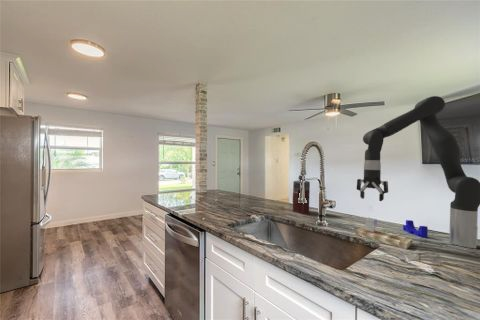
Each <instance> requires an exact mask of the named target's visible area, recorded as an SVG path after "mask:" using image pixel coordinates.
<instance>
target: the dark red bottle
mask: <svg viewBox="0 0 480 320" xmlns="http://www.w3.org/2000/svg"><path fill="white" fill-rule="evenodd" d="M301 175H302V174H299V176H298V180H294V181H292V182H293V183H292V185H293V188H292V213H297V214H301V215H302V214H308V213H310V186H311V185H310V184H311V182H310V181H309V180H304V181H305V198H306V200H307V203H304V204H303V203H298V198H299V193H300V183H301V180H302V176H301ZM304 178H305V179H306V176H305V175H304Z"/></svg>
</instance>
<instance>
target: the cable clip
mask: <svg viewBox="0 0 480 320" xmlns="http://www.w3.org/2000/svg"><path fill="white" fill-rule="evenodd" d="M402 230H403V231H405V232H406V233H408V234H413V235H414V236H416V237H417V236H418V237H419V238H422V239H423V238H425V239H428V230H429V228H428V226H427V225H419V228H418V229H416V227H415V223H414V220H410V219H406V220H405V224H403V225H402Z"/></svg>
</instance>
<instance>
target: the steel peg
mask: <svg viewBox="0 0 480 320" xmlns="http://www.w3.org/2000/svg"><path fill="white" fill-rule="evenodd" d="M377 221H378V220H377V218H373V217H372V218H371V217H367V218H365V222H364V227H365V231H367V232H371V233H376V230H377Z"/></svg>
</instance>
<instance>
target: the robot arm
mask: <svg viewBox="0 0 480 320" xmlns="http://www.w3.org/2000/svg"><path fill="white" fill-rule="evenodd" d="M445 107H446V101H445V100H444V99H443V98H442V97H441V96H438V95H434V96H433V95H432V96H429V97H426V98H424V99H422V100H421V101H418V102H417V103H416V104H415V105H414V108H413V109H411V110H409V111H407V112H405V113H403V114H401V115H398V116H397V117H395V118H392V119H391V120H389V121H387V122H385V123H384V124H382V125H380V126H378V127H376V128H374V129H372V130H370V131H368V132H366V133H365V134H363V137H362V141H363V143H364V144H366V145H367V149H366V150H365V151H364V162H363V179H361V178H358V179H357V180H356V190H357V191H358V192H359V195H360V198H361V200H363V199H365V190H366V189H375V190H376V191H378V193H379V197H378V199H379V202H383V201H384V200H385V194H387V193H389V182H388V180H381V176H382V175H381V174H382V173H381V172H382V171H381V170H382V165H381V151H382V148H383V145H384V139H385V138H388V137H391V136H393V135H395V134H397V133H399V132H401V131H403V130H404V129H406V128H408V127H409V126H412V125H413V124H414V123H417V122H418V121H419V122H420V124H421V125H422V127H423V130H424V131H425V133H426V135H427V138H428V139H429V142H430V144H431V147H432V149H433V151H434V154H435V155H436V158H437V160H438V162H439V164H440V166H441V169H442V171H443V174H444V177H445V180H446V184H447V186H448V189H449V190H450V191H451V192H452V193H454V194H455V195H454V199H453V200H452V201H451V202H450V204H449V205H450V206H449V236H448V240H449V243H451V244H453V245H456V246H460V247H464V248H469V249H470V248H471V249H475V250H476V249H477V247H478V228H479V226H478V217H479V216H478V215H479V213H478V212H479V211H478V210H479V207H480V181H479V180H478V179H477V178H475V177H472V176H467V175H466V173H465V171H464V169H463V167H462V164H461V148H460V145H459V143H458V141H457V140H456V139H457V138H456V137H455V135H454V134H452V132H451V131H449V130H448V129H447V128H445V127H444V126H443V125H442V124H441V123H440V122H439V119H438V117H437V114H439V113H440V112H442V111H443V110H444V109H445ZM362 183H363V184H364V185H362ZM380 185H382V186H383V189H382V186H380Z"/></svg>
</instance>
